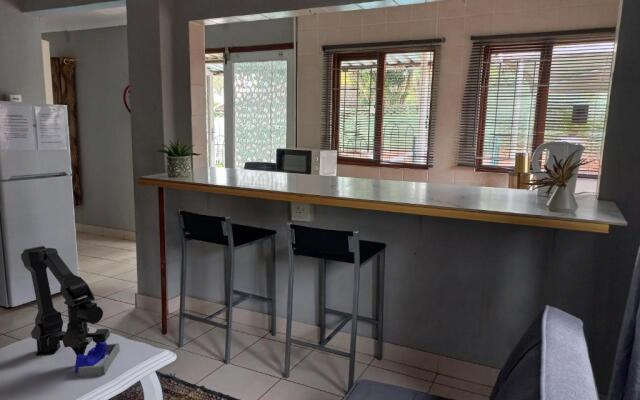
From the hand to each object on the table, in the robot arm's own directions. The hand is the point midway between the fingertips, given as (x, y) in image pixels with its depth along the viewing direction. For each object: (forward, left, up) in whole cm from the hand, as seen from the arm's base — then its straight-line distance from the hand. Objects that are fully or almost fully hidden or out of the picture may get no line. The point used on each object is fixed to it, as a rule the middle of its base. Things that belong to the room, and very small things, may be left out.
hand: (80, 360), depth 161 cm
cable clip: (+3, -1, -2) cm, 3 cm away
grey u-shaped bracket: (+6, 0, -2) cm, 6 cm away
